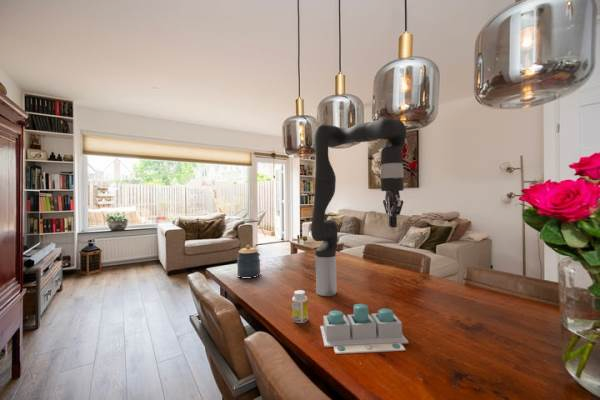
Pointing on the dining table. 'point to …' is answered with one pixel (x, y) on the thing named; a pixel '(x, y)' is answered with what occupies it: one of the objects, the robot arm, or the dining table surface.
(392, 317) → the button
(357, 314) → the button
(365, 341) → the board
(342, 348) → the card
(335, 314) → the button
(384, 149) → the robot arm
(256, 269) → the canister
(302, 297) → the supplement bottle
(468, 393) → the dining table surface
